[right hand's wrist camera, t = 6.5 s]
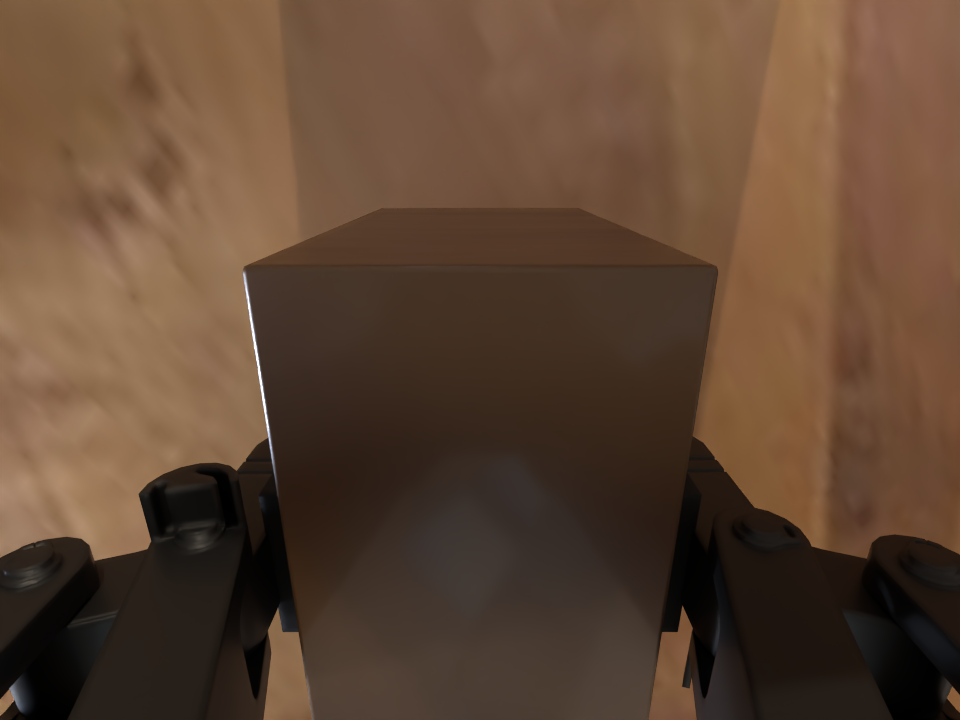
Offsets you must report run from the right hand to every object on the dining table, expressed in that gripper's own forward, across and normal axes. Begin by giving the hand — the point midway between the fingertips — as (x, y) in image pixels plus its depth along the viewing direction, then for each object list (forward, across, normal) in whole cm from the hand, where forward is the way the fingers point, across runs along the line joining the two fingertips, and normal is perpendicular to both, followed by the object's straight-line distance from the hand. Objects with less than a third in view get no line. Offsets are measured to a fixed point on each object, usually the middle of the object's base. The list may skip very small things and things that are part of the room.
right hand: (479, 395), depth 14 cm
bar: (0, 0, -37) cm, 37 cm away
